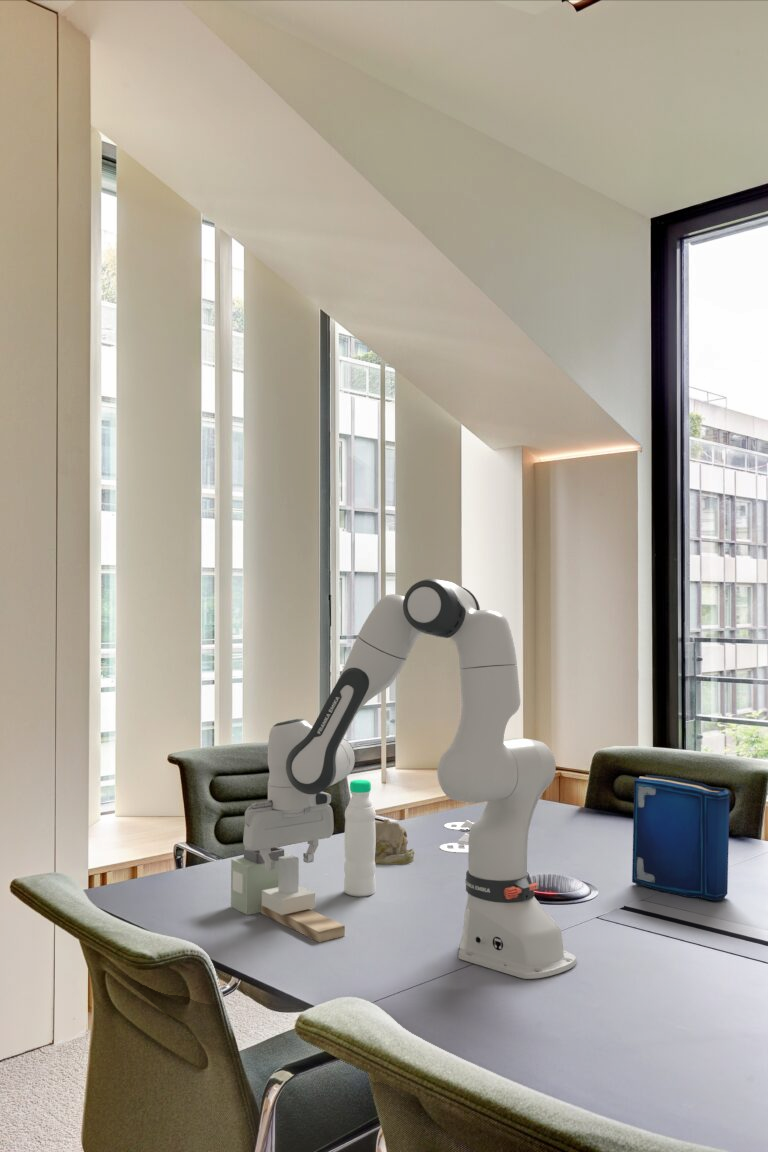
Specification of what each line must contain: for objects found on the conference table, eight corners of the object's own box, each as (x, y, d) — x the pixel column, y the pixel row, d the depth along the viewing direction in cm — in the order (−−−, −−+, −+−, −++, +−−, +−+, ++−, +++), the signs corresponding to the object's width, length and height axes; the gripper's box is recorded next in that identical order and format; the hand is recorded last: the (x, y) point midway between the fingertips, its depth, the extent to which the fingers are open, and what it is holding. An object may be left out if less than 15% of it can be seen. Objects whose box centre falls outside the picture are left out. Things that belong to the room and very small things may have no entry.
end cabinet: (295, 904, 204) (296, 848, 205) (245, 915, 197) (245, 857, 197) (279, 896, 210) (279, 841, 210) (229, 906, 202) (229, 850, 203)
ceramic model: (354, 862, 239) (354, 822, 239) (366, 851, 250) (366, 813, 250) (408, 866, 235) (408, 826, 235) (418, 855, 246) (418, 816, 246)
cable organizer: (445, 823, 283) (445, 812, 284) (525, 826, 281) (525, 814, 281) (438, 854, 249) (438, 840, 249) (530, 857, 246) (530, 843, 246)
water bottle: (371, 898, 209) (372, 784, 209) (340, 896, 210) (341, 783, 211) (378, 889, 215) (378, 778, 216) (348, 887, 217) (348, 777, 218)
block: (344, 935, 184) (344, 925, 185) (318, 942, 181) (319, 931, 181) (285, 907, 202) (285, 897, 202) (260, 912, 198) (260, 903, 198)
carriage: (315, 907, 195) (315, 858, 195) (281, 915, 190) (282, 864, 190) (294, 898, 201) (294, 850, 201) (261, 905, 196) (262, 856, 196)
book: (734, 898, 210) (733, 785, 211) (721, 905, 205) (720, 789, 206) (644, 879, 225) (644, 773, 225) (630, 885, 219) (629, 777, 220)
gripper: (253, 806, 187) (253, 877, 186) (337, 794, 200) (338, 860, 199) (237, 802, 192) (237, 871, 191) (320, 790, 205) (321, 855, 204)
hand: (289, 865), depth 195 cm, fingers open, 8 cm apart
